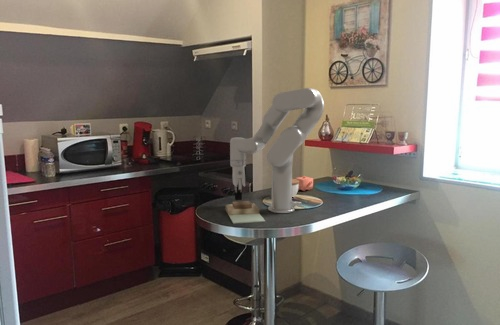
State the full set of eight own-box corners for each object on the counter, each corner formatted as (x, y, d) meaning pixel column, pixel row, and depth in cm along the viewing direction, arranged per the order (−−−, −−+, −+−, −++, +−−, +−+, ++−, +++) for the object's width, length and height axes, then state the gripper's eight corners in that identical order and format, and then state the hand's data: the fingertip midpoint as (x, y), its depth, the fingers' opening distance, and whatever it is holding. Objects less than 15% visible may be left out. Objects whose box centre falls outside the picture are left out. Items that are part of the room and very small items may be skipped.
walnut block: (248, 204, 203) (248, 200, 203) (251, 208, 196) (251, 204, 196) (232, 205, 201) (232, 201, 201) (234, 209, 195) (234, 205, 194)
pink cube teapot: (306, 192, 239) (306, 178, 238) (292, 189, 249) (292, 175, 247) (316, 191, 243) (317, 177, 242) (302, 187, 253) (303, 173, 252)
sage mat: (259, 214, 195) (259, 213, 195) (265, 221, 184) (265, 220, 183) (229, 216, 192) (229, 215, 192) (233, 223, 181) (233, 222, 181)
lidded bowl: (297, 200, 221) (297, 179, 219) (273, 199, 224) (273, 178, 222) (299, 195, 233) (300, 175, 232) (277, 194, 236) (277, 174, 234)
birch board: (254, 208, 206) (254, 203, 205) (259, 214, 195) (259, 209, 195) (225, 209, 203) (225, 204, 203) (229, 216, 192) (229, 210, 192)
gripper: (248, 165, 199) (248, 203, 202) (242, 160, 214) (243, 196, 217) (232, 165, 198) (233, 203, 201) (228, 161, 212) (228, 196, 215)
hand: (238, 199), depth 209 cm, fingers closed
